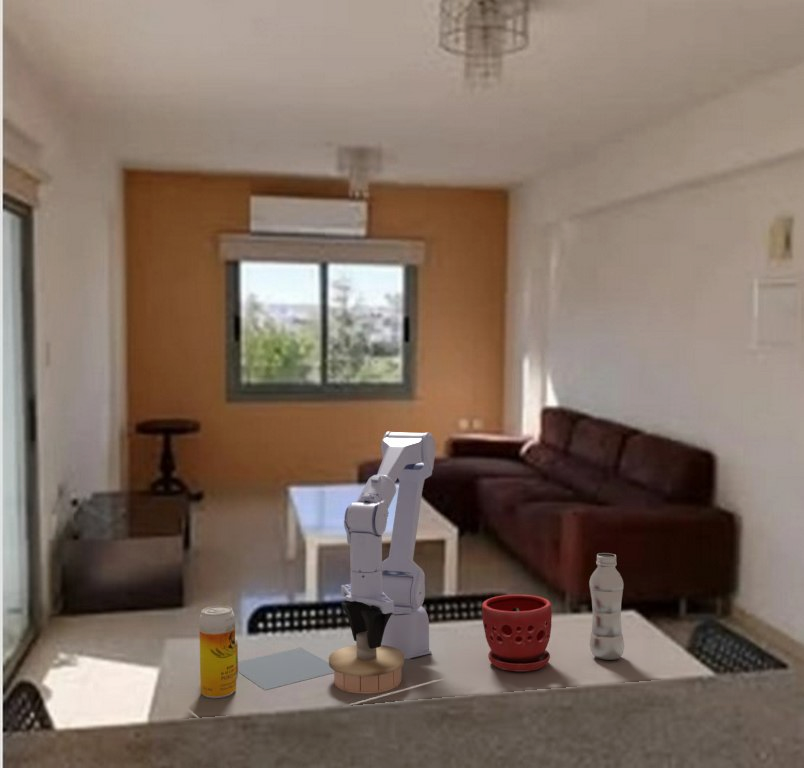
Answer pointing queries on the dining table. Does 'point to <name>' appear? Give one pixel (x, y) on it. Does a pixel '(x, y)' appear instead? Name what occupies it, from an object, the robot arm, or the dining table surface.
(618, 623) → the plastic bottle
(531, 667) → the plant pot
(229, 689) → the beer can
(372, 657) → the lid
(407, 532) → the robot arm
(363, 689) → the bowl
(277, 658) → the mat
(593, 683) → the dining table surface
